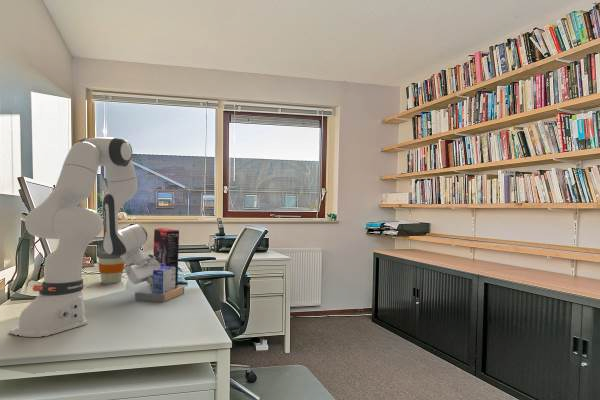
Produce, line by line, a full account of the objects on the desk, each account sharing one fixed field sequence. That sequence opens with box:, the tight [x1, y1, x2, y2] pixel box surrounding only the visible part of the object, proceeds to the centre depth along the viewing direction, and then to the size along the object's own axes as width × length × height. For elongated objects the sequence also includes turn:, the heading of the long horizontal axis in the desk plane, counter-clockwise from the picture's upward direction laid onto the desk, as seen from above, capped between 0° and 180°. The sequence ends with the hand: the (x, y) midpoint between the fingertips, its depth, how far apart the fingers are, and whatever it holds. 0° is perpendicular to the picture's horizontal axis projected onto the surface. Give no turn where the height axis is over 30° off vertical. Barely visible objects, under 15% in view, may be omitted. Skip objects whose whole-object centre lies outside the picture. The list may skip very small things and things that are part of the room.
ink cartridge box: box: [152, 262, 176, 294], centre depth 177 cm, size 10×6×14 cm, turn 167°
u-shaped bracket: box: [134, 285, 185, 303], centre depth 177 cm, size 17×13×3 cm
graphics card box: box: [153, 227, 180, 286], centre depth 201 cm, size 17×7×27 cm, turn 40°
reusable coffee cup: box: [97, 250, 126, 284], centre depth 206 cm, size 13×13×15 cm
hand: (157, 286), depth 177 cm, fingers closed, pressing on ink cartridge box
